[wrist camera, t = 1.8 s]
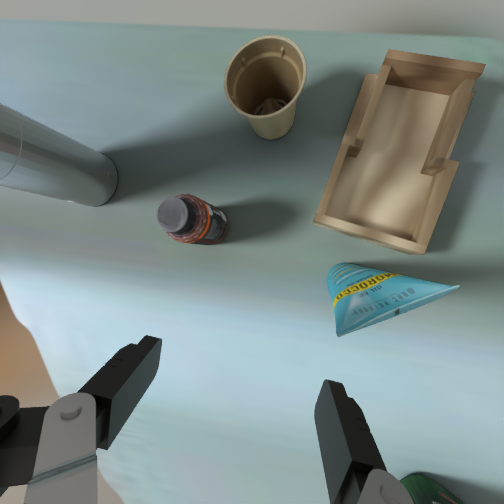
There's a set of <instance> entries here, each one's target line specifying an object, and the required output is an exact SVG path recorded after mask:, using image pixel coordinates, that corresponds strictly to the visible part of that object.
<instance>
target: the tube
mask: <svg viewBox="0 0 504 504" xmlns="http://www.w3.org/2000/svg"><path fill="white" fill-rule="evenodd" d="M327 286H328V289H329V292H330V295H331V299H332V303H333V307H334V313H335V321H336V334H337V336H338V337H340V336H343V335H345V334H348V333H350V332H353V331H356V330H359V329H362V328H365V327H367V326H370V325H373V324H376V323H379V322H381V321H384V320H387V319H389V318H392V317H395V316H397V315H400V314H402V313H405V312H407V311H410V310H413V309H415V308H418V307H420V306H422V305H425V304H427V303H429V302H432V301H434V300H436V299H438V298H440V297H442V296H444V295H446V294H448V293H450V292H452V291H454V290H456V289H458V288H459V287H460V285H456V286H450V285H445V284H441V283H436V282H431V281H427V280H422V279H417V278H413V277H409V276H404V275H399V274H394V273H390V272H385V271H380V270H376V269H371V268H367V267H362V266H358V265H354V264H350V263H340V264H337V265H335V266H334V267H332V268H331V270H330V271H329V273H328V275H327Z"/></svg>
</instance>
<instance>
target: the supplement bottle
mask: <svg viewBox="0 0 504 504" xmlns="http://www.w3.org/2000/svg"><path fill="white" fill-rule="evenodd" d="M156 220H157V223H158V225H159V226H160V227H161V228H162V229H163V230H164V231H166V233H167V234H168V235H169V236H170V237H171V238H172V239H174V240H176V241H178V242H182V243H191V244H200V245H213V244H217V243H218V242H220V241H221V240H222V239H223V238H224V237H225V235H226V233H227V230H228V221H227V218H226V216H225V214H224V213H223V212H222V211H221V210H219V209H218V208H216V207H214V206H212V205H210V204H208V203H207V202H205V201H203V200H201V199H199V198H197V197H195V196H193V195H189V194H182V195H178V196H175V197H168V198H166V199H164V200H163V201H161V203H160V204H159V206H158V208H157V211H156Z"/></svg>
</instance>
